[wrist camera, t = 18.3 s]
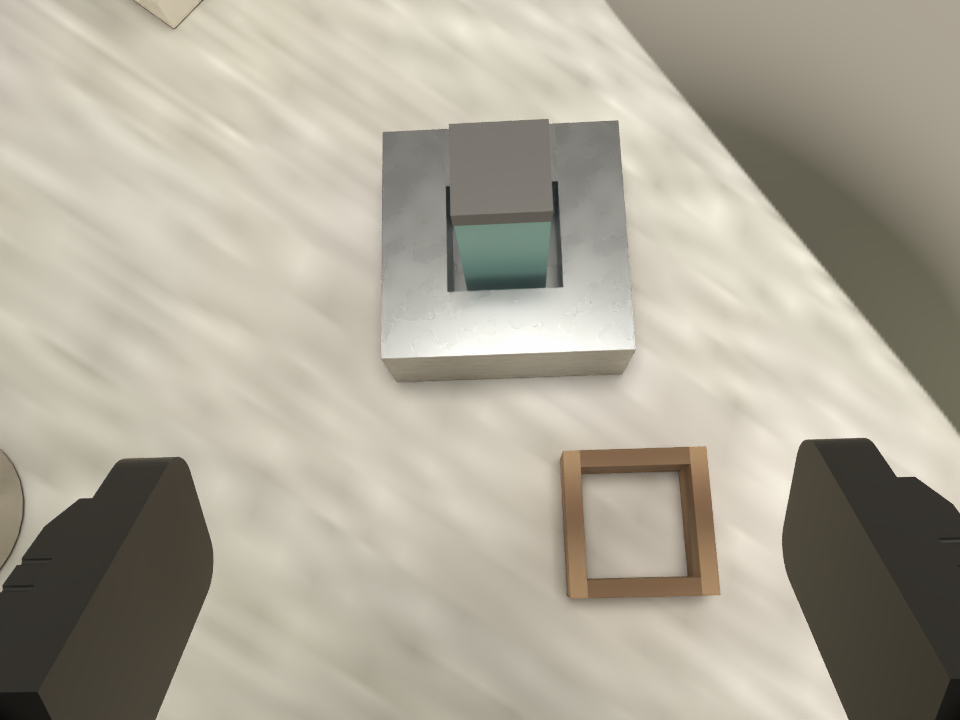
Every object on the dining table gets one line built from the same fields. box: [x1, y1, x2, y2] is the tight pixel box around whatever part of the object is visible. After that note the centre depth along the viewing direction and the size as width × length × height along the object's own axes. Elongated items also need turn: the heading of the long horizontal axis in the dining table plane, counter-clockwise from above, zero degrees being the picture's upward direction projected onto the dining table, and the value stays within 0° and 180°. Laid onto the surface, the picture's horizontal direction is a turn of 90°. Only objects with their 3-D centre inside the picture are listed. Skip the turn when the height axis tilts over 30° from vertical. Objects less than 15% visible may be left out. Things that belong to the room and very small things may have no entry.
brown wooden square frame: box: [560, 447, 720, 599], centre depth 39 cm, size 7×7×3 cm
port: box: [381, 121, 636, 382], centre depth 41 cm, size 12×12×5 cm
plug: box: [449, 119, 553, 291], centre depth 37 cm, size 4×4×11 cm
